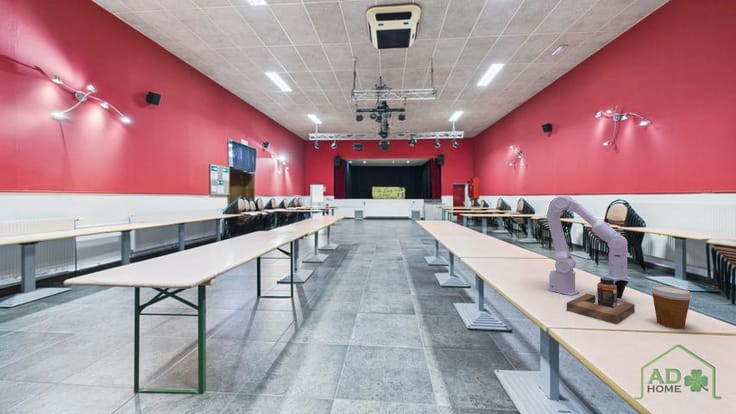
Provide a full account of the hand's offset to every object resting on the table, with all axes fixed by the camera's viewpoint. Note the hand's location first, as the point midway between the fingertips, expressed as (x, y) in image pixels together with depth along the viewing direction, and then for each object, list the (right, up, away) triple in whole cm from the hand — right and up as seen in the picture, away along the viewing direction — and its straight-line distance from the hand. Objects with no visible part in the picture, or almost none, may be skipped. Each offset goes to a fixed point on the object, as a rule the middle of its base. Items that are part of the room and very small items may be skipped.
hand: (617, 297), depth 116 cm
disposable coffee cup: (-2, -2, -22) cm, 22 cm away
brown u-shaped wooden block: (-15, -2, -10) cm, 18 cm away
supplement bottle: (-9, -2, -6) cm, 11 cm away
